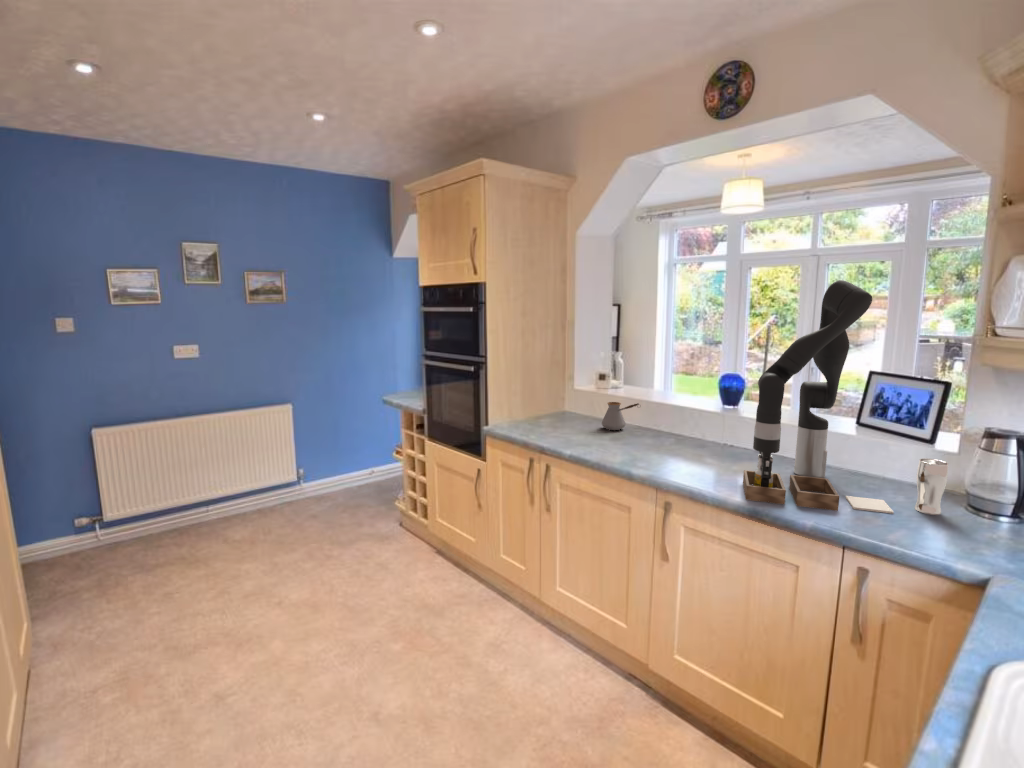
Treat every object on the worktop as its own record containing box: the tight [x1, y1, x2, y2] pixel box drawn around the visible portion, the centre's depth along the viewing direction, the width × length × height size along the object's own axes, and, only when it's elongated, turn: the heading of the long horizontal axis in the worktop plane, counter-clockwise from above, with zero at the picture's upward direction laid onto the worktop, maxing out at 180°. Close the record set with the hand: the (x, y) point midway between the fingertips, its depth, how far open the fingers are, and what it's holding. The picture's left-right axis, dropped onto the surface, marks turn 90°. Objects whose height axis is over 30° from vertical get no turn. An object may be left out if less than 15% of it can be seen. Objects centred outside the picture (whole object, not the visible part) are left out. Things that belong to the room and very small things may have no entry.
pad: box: [845, 495, 895, 515], centre depth 159 cm, size 10×10×1 cm
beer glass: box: [914, 458, 949, 516], centre depth 154 cm, size 7×7×15 cm
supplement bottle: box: [753, 462, 774, 488], centre depth 169 cm, size 5×5×10 cm
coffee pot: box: [601, 401, 641, 431], centre depth 251 cm, size 21×12×15 cm, turn 36°
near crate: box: [788, 474, 840, 512], centre depth 164 cm, size 11×17×4 cm, turn 159°
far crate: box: [742, 469, 787, 505], centre depth 169 cm, size 11×17×4 cm, turn 159°
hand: (763, 486), depth 169 cm, fingers open, 6 cm apart
